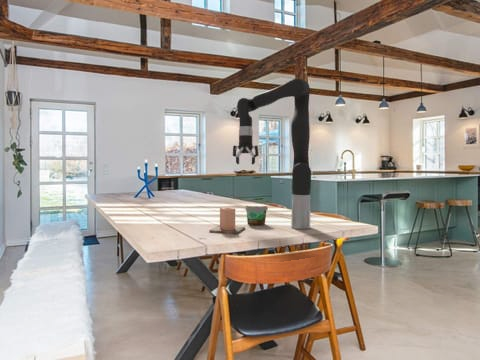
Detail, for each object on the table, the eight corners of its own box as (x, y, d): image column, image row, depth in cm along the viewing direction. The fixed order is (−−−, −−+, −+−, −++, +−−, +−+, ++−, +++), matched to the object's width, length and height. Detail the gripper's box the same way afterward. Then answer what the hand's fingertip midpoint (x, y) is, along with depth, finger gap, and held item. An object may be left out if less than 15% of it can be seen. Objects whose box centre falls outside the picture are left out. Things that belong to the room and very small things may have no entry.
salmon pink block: (230, 227, 175) (230, 207, 174) (235, 229, 170) (235, 208, 169) (219, 228, 172) (219, 207, 171) (224, 230, 167) (224, 209, 167)
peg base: (245, 229, 175) (245, 212, 175) (237, 234, 163) (237, 216, 162) (218, 227, 179) (218, 211, 179) (209, 232, 167) (209, 215, 166)
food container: (242, 225, 185) (242, 206, 184) (245, 223, 191) (245, 205, 190) (265, 226, 182) (265, 207, 181) (267, 224, 188) (267, 205, 187)
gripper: (231, 134, 192) (231, 164, 193) (256, 134, 188) (256, 164, 189) (235, 135, 199) (235, 164, 200) (259, 135, 195) (259, 164, 196)
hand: (245, 164), depth 195 cm, fingers open, 8 cm apart
